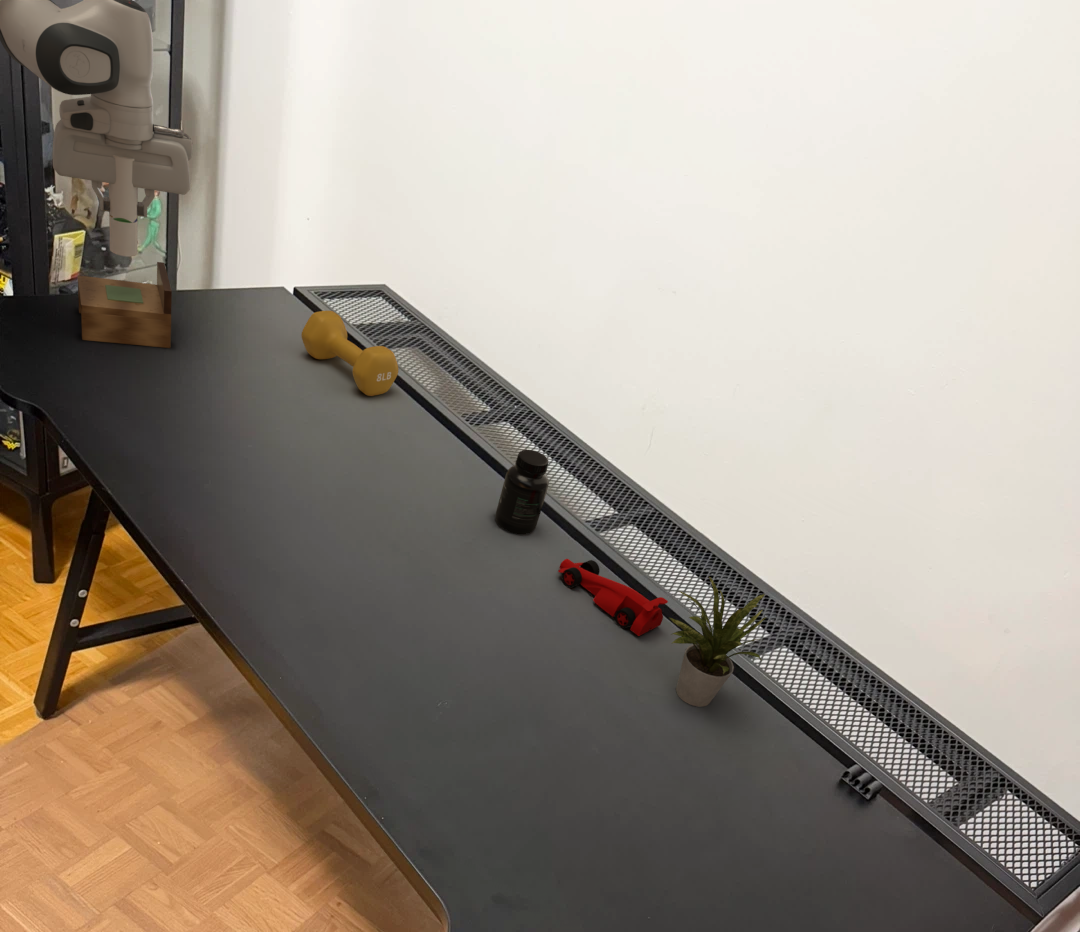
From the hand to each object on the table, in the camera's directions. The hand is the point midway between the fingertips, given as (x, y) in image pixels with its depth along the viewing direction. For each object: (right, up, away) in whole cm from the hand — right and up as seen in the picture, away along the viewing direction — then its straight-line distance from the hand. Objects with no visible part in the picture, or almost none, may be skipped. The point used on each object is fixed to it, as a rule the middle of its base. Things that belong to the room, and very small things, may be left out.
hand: (123, 212), depth 165 cm
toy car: (+77, -65, -11) cm, 101 cm away
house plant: (+89, -78, -22) cm, 121 cm away
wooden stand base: (-5, -14, +13) cm, 19 cm away
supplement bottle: (+64, -51, -2) cm, 82 cm away
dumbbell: (+32, -19, +22) cm, 43 cm away
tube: (-2, -5, +4) cm, 6 cm away
